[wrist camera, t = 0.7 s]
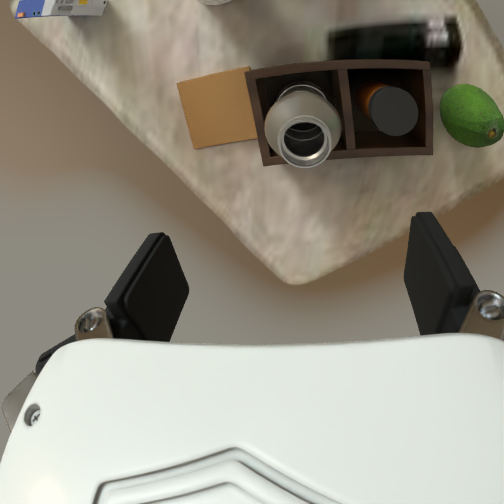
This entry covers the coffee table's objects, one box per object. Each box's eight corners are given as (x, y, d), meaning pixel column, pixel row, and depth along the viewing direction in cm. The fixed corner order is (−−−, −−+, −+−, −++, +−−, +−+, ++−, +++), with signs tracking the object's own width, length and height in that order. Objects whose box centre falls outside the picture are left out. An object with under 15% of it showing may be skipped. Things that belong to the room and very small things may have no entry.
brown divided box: (254, 69, 34) (243, 71, 27) (405, 59, 29) (429, 61, 23) (269, 146, 40) (263, 166, 33) (411, 136, 35) (433, 155, 29)
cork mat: (177, 83, 36) (176, 83, 35) (249, 66, 33) (249, 66, 33) (194, 148, 41) (194, 149, 41) (263, 136, 39) (263, 137, 39)
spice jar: (351, 80, 32) (368, 87, 25) (389, 79, 31) (417, 88, 23) (356, 117, 35) (373, 136, 27) (392, 116, 34) (418, 135, 26)
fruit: (479, 128, 32) (525, 157, 22) (437, 139, 35) (477, 171, 25) (467, 76, 28) (517, 90, 18) (422, 85, 31) (465, 100, 21)
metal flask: (335, 116, 36) (366, 169, 20) (288, 133, 38) (279, 199, 22) (315, 72, 33) (333, 84, 17) (267, 91, 35) (240, 122, 19)
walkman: (66, 16, 29) (12, 19, 19) (71, 0, 27) (17, 0, 17) (103, 16, 29) (49, 15, 20) (108, 0, 28) (55, -5, 18)
